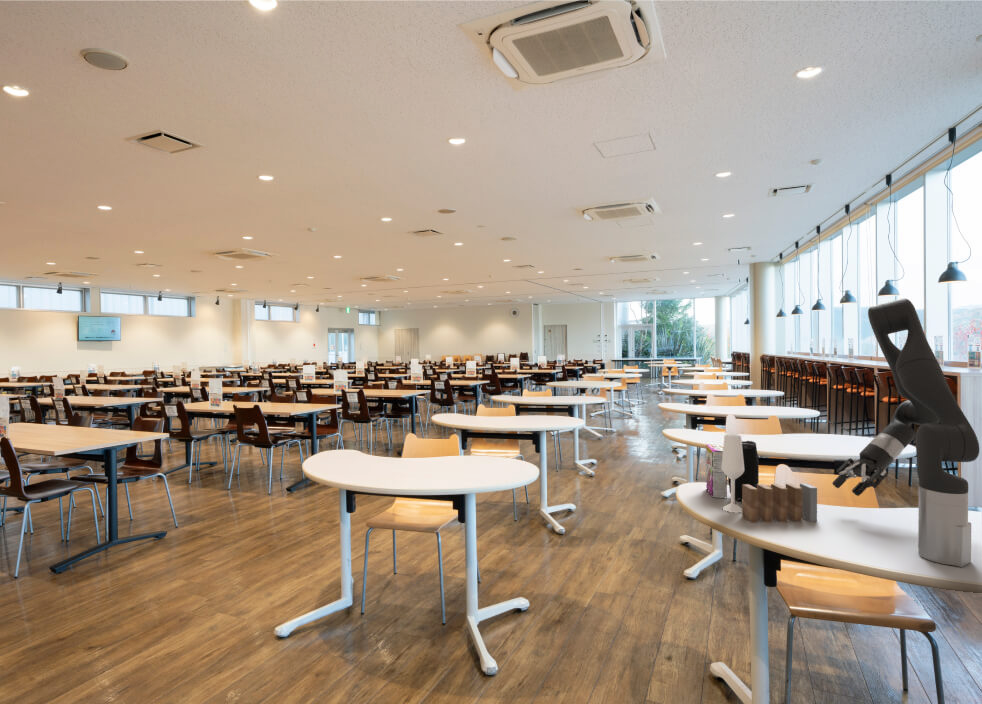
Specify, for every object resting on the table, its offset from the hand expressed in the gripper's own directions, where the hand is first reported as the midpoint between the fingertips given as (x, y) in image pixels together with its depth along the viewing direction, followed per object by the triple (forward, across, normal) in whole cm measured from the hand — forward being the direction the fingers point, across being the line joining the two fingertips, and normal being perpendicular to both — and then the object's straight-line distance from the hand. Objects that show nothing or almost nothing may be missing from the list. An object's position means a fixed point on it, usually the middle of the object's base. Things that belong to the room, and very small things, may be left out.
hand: (844, 489), depth 158 cm
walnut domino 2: (+23, 0, -11) cm, 26 cm away
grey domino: (+14, 0, -2) cm, 14 cm away
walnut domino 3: (+20, 0, -8) cm, 22 cm away
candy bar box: (+25, -27, -13) cm, 39 cm away
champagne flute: (+27, -10, -15) cm, 32 cm away
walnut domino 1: (+27, 0, -14) cm, 30 cm away
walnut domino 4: (+17, 0, -5) cm, 18 cm away
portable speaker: (+21, -20, -9) cm, 30 cm away
